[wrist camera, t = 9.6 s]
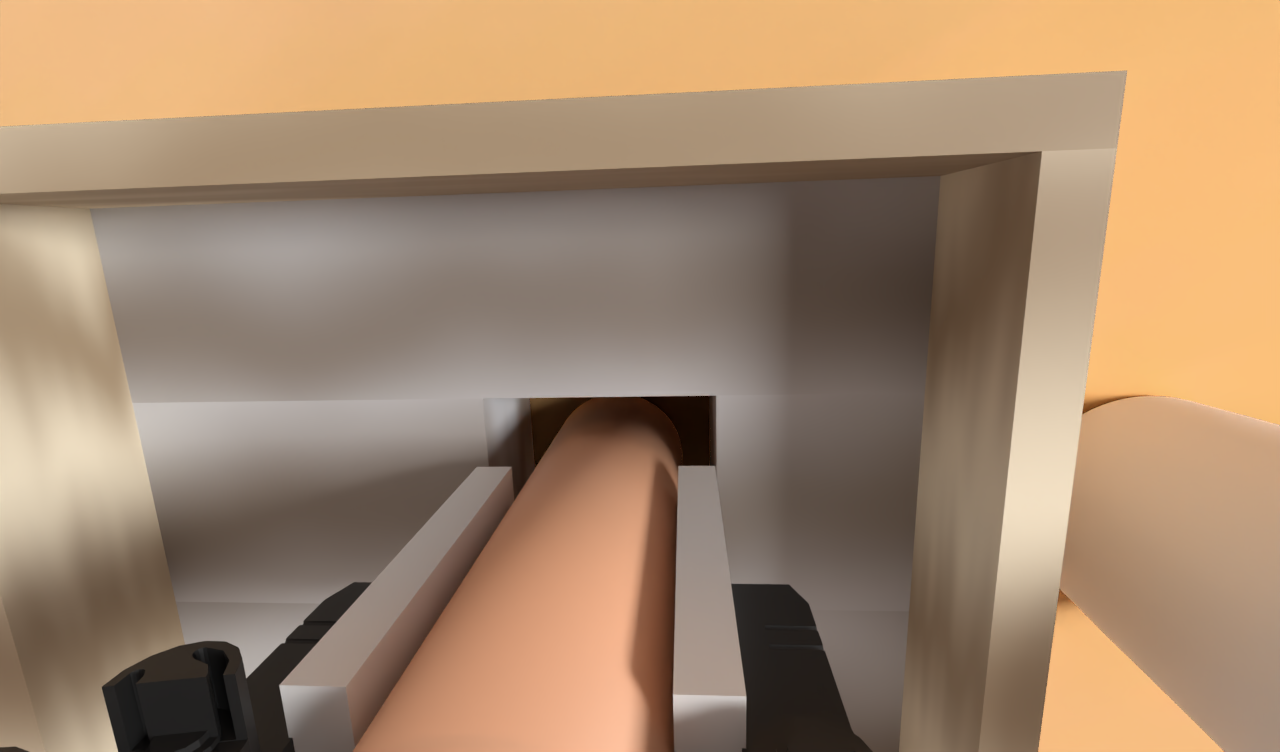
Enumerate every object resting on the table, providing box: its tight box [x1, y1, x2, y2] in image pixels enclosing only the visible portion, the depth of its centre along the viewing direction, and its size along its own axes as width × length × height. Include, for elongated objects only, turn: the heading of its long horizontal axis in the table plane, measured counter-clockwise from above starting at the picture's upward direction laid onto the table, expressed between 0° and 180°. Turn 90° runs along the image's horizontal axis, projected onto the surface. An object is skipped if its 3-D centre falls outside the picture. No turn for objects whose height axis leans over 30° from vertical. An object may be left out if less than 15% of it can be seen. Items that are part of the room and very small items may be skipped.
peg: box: [353, 397, 682, 752], centre depth 12 cm, size 4×4×12 cm
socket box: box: [0, 71, 1127, 752], centre depth 15 cm, size 20×20×8 cm
